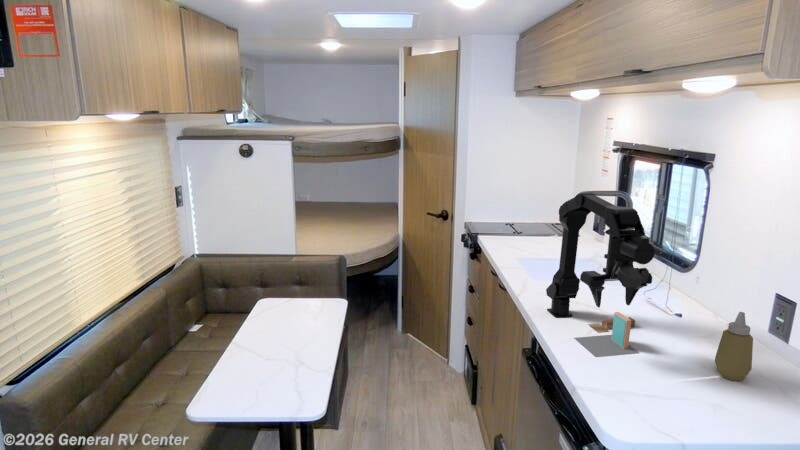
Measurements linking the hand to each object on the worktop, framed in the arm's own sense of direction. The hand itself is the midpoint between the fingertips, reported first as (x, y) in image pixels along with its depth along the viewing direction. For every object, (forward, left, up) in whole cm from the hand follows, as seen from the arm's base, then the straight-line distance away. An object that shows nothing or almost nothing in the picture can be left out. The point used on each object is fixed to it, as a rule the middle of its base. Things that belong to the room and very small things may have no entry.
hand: (612, 305), depth 133 cm
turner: (-14, +11, -15) cm, 23 cm away
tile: (-3, +6, -14) cm, 15 cm away
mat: (-3, +1, -15) cm, 15 cm away
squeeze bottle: (+17, +25, -15) cm, 33 cm away
